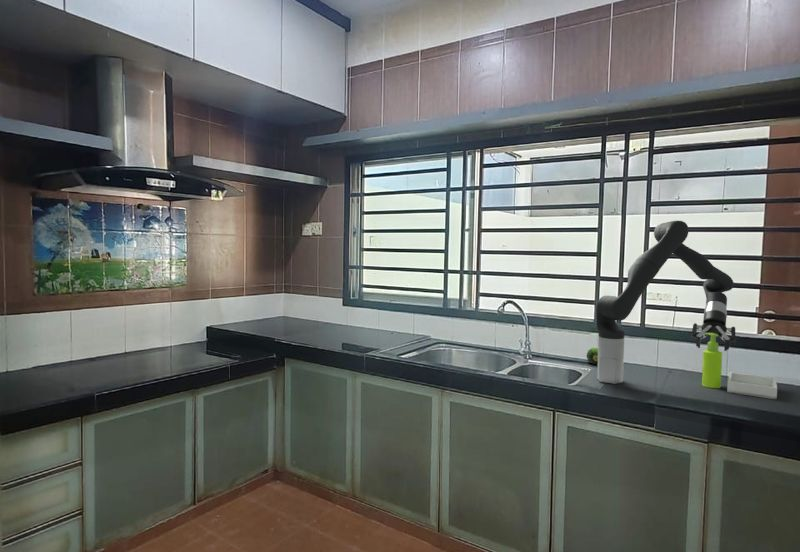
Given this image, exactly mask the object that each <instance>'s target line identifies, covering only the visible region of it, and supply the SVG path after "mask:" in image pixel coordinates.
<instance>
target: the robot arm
mask: <svg viewBox="0 0 800 552" xmlns="http://www.w3.org/2000/svg"><path fill="white" fill-rule="evenodd" d="M653 235H654V239H655V241H656V242H657V243H656V244H654V245H653V246H652V247H650V248H649V249H647V250H646V251H644V252H643V253H642V254H640V255H639V256H638V257H637V259H635V261H634V262H633V264H632V265H631V266H630V267H629V269H628V272H627V284H626V287H625V289H624V290H623V291H622V292H621V293H620V294H619V295H618V296H617V295H615V296H614V295H602V296H601V297H599V299H598V300H597V302H596V311H595V313H596V315H595V316H596V317H595V319H596V328H597V329H596V330H597V332H598V341H597V342H598V344H597V345H598V346H597V348H598V364H597V380H598V382H600V383H607V384H613V385H616V384H623V382H624V358H625V357H624V355H625V330H623V328H621V327H619V325H618V324H617V321H618V322H621V321H624V320H626V319H627V318H628V316H629V315H630V314H631V313H632V310H633V309H634V307H636V304H637V302H638V300H639V299H640V298H641V296H642V294H643V293H644V291H645V290H646V289H647V287H648V286H649V285H650V283H651V282H652V281H654V280H653V279H655V277H656V275H657V274H658V273H659V271H660V270H661V269H662V267H663V266H664V265H665V264H666V262H667V261H668V260H669V258H670V257H671V256H672V255H674V256H676V257H677V258H678V259H679V260H681V261H682V262H683V263H684V264H685V265H686V266H687V267H688V268H689V269H690V270H691V271H692V272H693V273H694V274H695V275H696V277H698V278H699V279H700V280H704V282H703V284H702V288H703V291H704V294H705V297H706V300H705V307H704V310H703V321H702V324H701V325H700V324H697V323H696V322H695V323H693V324H692V325H693V326H692V330H691V334H690V335H691V339H693V340H695V346H696V347H697V349H700V348H701V342H702V341H701V340H702V339H705V338H706V337H709V338H711V335H708V334H704V333H715V334H718V336H716V338H720V339H721V340H722V341H723V342H724V346H723V347H724V352H727V351H728V350H730V344H731V343H732V344H735V343H736V327H735V326H731V327H727V326H726V325H727V317H728V312H727V311H728V310H727V305H728V297H727V295H726V294H725V292H728V291H732V289H734V286H735V285H734V284H735V283H734V280H733V278H732V277H731V276H730V275H729V274H727V273H726V272H725V271H722V270H720V269H719V268H717V267H715V265H713V264H712V263H711V262H710V261H709V260H708V258H707V257H705V256H704V255H703V254H701V253H700V252H698V251H697V250H694V249H692V248H690V247H689V246H687V245H685V244H684V242H685V241H686V239H687V238H688V235H689V226H688V224H687V223H686V222H685V221H683V220H671V221H667V222H662V223H659V224H657V225H656V226H655V228H654V231H653ZM700 330H701V331H700ZM698 331H700V332H699V333H698V334H697V332H698ZM727 332H728V333H729V334H730V335H731V337H729V336H728V335H727Z"/></svg>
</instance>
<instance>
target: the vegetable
mask: <svg viewBox="0 0 800 552" xmlns="http://www.w3.org/2000/svg"><path fill="white" fill-rule="evenodd" d="M586 359H587V360H588V362H589V363H590V364H592V365H598V347H591V348H590V349H588V350H587V352H586Z"/></svg>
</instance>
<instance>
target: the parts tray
mask: <svg viewBox="0 0 800 552" xmlns="http://www.w3.org/2000/svg"><path fill="white" fill-rule="evenodd" d="M726 391H727V393H732V394H737V395H743V396H744V395H745V396H751V397H757V398H758V397H759V398H762V399H769V400H770V399H771V400H778V399H777V397H778V385H777V379H776V377H769V376H761V375H754V374H747V373H737V372H732V371H729V373H728V377H727V389H726Z"/></svg>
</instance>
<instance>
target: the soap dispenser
mask: <svg viewBox="0 0 800 552" xmlns="http://www.w3.org/2000/svg"><path fill="white" fill-rule="evenodd" d="M704 334H708V335H711V337H710V340H709V341H708V342H707V349H706V350H702V351H703V352H702V378H701V380H702V381H701V385H702V386H703V387H706V388H709V389H720V388H721V387H722V384H721V383H722V363H723V362H722V361H723V352H722V351H719V343H718V342H717V337H716V336H718V334H715V333H704Z"/></svg>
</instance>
